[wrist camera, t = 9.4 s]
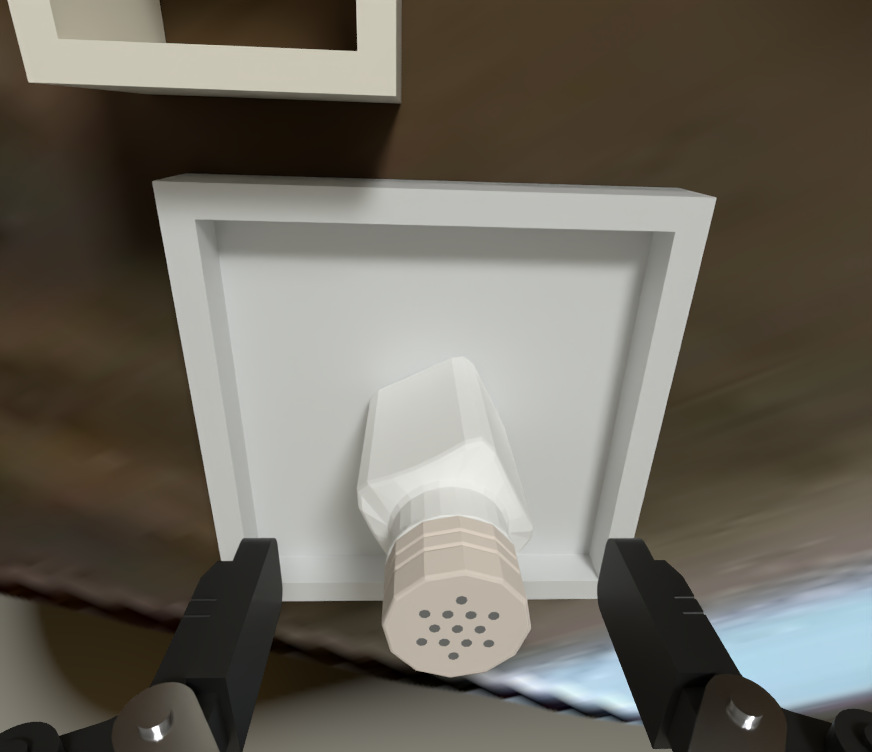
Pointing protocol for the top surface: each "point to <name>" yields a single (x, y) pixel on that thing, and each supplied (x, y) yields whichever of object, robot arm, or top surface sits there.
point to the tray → (426, 349)
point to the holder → (200, 55)
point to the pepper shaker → (446, 521)
